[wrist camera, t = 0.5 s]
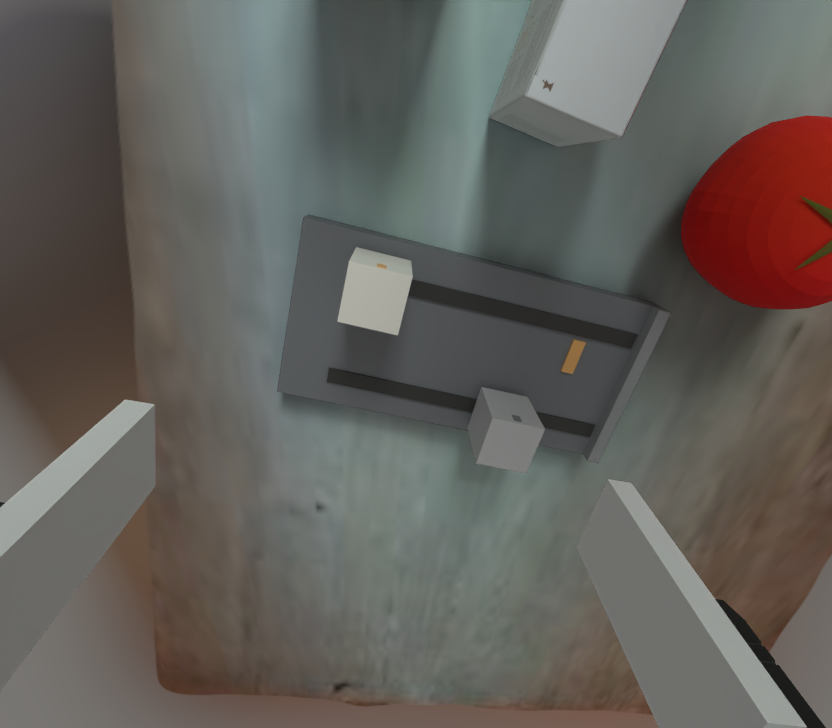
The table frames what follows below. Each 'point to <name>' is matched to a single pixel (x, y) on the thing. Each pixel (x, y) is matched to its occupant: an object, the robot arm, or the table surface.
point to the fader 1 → (375, 291)
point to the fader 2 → (504, 430)
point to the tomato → (767, 217)
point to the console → (466, 340)
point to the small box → (583, 67)
